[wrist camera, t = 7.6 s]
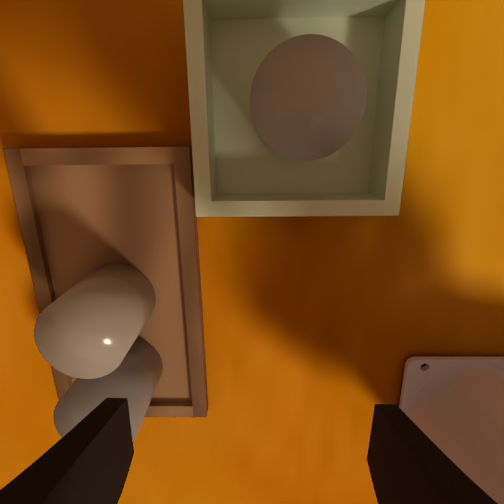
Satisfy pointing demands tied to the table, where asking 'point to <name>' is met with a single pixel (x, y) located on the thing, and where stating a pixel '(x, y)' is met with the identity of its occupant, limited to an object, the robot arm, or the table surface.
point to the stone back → (114, 389)
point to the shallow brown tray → (120, 246)
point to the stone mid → (95, 321)
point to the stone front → (308, 97)
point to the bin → (241, 124)
